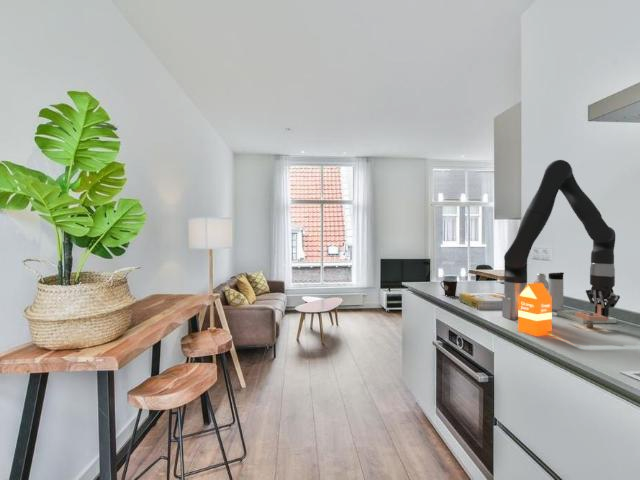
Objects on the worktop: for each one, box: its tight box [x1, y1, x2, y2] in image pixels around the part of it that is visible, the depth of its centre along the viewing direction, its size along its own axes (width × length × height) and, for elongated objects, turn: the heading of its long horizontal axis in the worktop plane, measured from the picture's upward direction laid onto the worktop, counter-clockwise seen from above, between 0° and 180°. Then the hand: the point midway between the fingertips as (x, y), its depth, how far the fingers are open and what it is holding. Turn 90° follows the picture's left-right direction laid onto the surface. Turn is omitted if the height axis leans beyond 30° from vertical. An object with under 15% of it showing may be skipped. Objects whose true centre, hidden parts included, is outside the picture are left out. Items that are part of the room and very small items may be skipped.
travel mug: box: [547, 272, 565, 313], centre depth 160 cm, size 6×7×20 cm
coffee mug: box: [440, 279, 458, 297], centre depth 204 cm, size 12×9×10 cm
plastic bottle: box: [533, 273, 549, 291], centre depth 154 cm, size 6×7×20 cm
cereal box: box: [458, 292, 504, 310], centre depth 175 cm, size 20×6×28 cm
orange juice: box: [517, 282, 553, 337], centre depth 125 cm, size 8×9×20 cm
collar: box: [574, 304, 610, 322], centre depth 127 cm, size 10×7×6 cm
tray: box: [556, 310, 617, 324], centre depth 140 cm, size 15×15×3 cm
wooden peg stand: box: [568, 312, 612, 332], centre depth 127 cm, size 10×10×7 cm
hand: (601, 316), depth 126 cm, fingers closed on collar
